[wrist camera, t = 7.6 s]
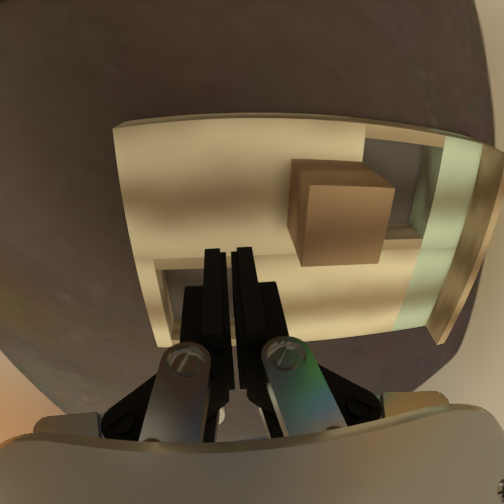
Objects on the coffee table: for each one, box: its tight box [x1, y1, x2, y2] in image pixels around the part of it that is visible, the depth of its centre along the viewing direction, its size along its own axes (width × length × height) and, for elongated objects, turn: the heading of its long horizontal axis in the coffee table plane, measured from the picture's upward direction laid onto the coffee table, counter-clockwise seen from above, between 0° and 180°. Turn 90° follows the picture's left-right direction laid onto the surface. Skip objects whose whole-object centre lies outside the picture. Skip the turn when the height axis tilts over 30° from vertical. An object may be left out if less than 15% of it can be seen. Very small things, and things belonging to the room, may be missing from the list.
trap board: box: [113, 113, 504, 347], centre depth 24 cm, size 20×29×6 cm
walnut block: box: [287, 159, 395, 267], centre depth 19 cm, size 5×5×5 cm
